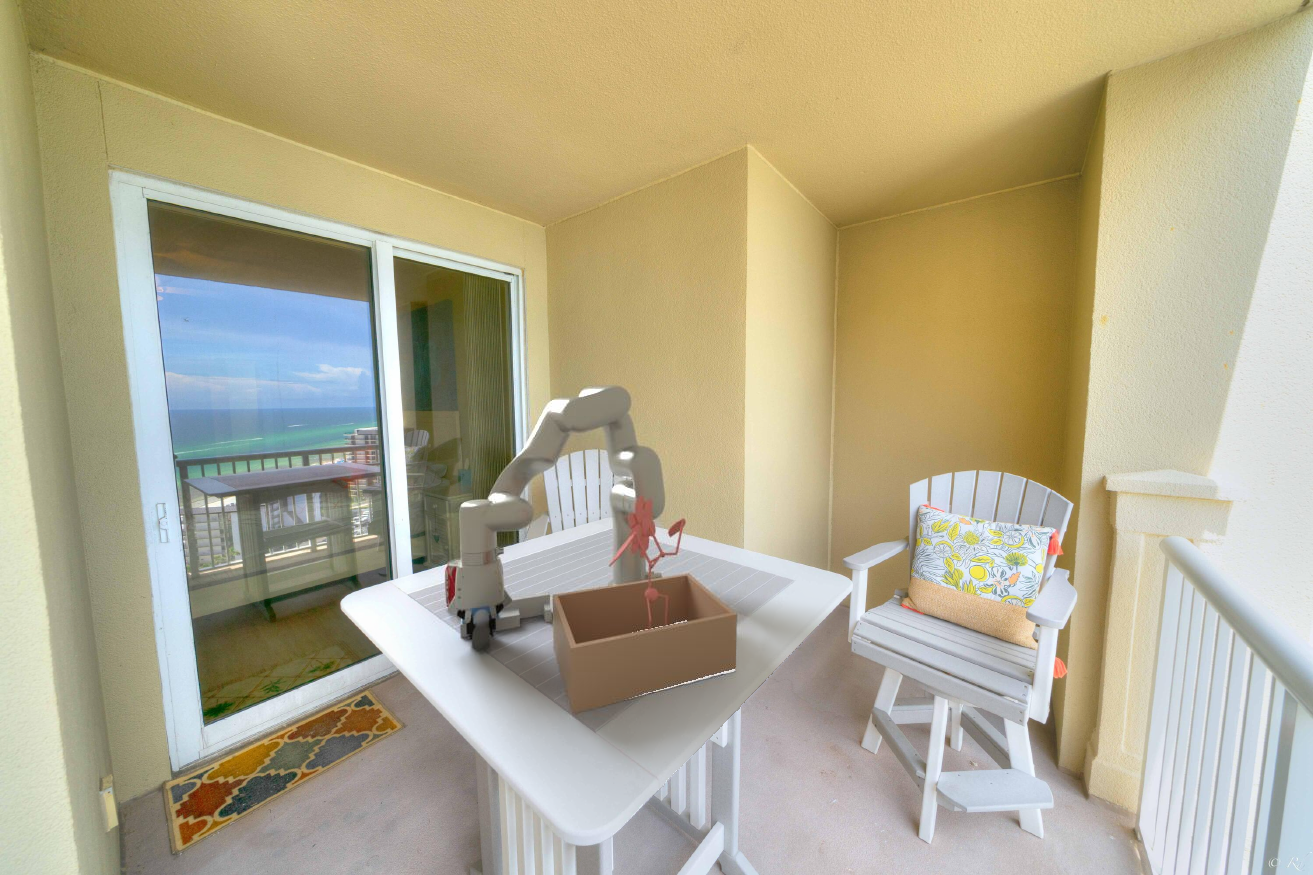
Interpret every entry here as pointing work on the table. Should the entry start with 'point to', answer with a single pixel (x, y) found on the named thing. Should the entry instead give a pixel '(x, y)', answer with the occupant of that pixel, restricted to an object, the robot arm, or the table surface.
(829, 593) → the table surface
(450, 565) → the soda can
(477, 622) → the grey cylindrical rod
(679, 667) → the open brown box
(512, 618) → the panel with blue tabs
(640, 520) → the figurine
